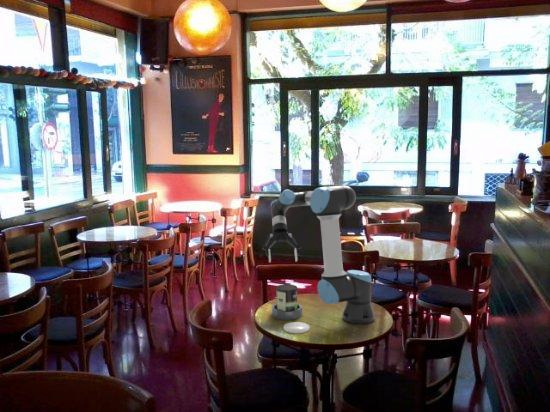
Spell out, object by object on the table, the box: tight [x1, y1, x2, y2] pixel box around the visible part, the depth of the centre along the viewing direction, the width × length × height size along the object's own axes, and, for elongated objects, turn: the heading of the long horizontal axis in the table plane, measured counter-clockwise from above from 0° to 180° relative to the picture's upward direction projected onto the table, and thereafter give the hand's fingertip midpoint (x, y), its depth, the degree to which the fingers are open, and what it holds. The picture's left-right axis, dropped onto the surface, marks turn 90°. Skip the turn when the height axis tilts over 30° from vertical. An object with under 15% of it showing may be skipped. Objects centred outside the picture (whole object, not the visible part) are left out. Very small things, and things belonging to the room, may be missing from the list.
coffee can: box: [275, 283, 298, 311], centre depth 260 cm, size 10×10×14 cm
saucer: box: [283, 321, 311, 335], centre depth 243 cm, size 12×12×1 cm
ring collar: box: [271, 302, 303, 321], centre depth 261 cm, size 14×14×4 cm
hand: (283, 260), depth 268 cm, fingers open, 13 cm apart
